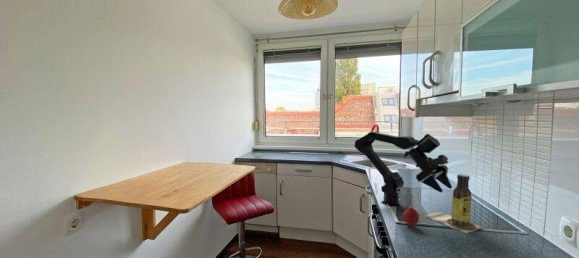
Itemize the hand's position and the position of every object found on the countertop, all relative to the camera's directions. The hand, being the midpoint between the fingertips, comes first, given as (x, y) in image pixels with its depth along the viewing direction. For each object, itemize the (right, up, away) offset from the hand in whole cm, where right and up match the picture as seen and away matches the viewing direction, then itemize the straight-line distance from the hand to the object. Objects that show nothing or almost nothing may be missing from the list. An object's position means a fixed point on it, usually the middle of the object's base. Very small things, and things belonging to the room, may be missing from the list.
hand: (446, 190), depth 106 cm
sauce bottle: (+3, -13, -4) cm, 14 cm away
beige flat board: (+2, -13, -1) cm, 13 cm away
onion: (-17, -13, -4) cm, 22 cm away
